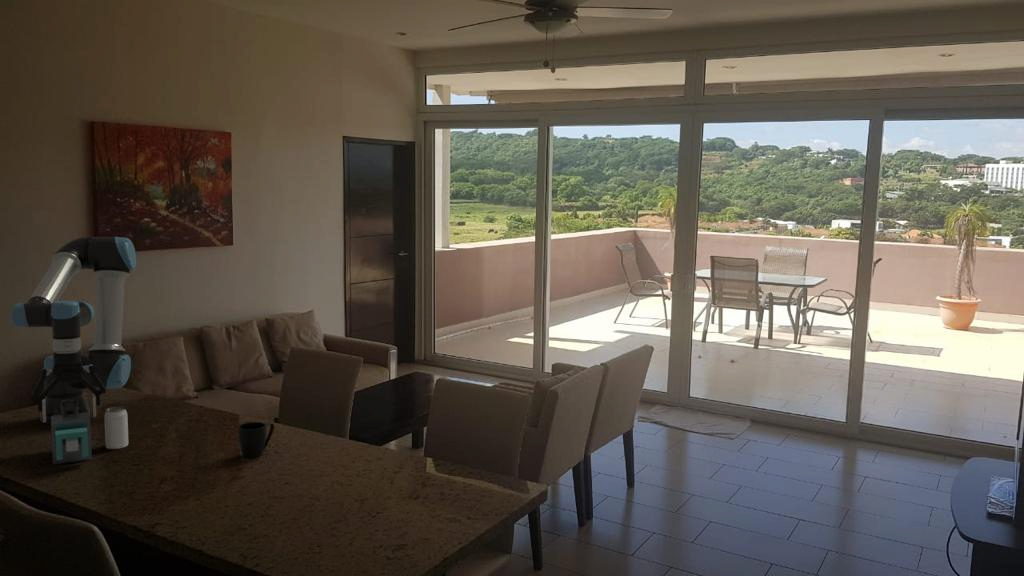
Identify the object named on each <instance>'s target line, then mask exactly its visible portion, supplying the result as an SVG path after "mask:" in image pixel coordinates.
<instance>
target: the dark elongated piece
mask: <svg viewBox="0 0 1024 576" xmlns="http://www.w3.org/2000/svg"><path fill="white" fill-rule="evenodd" d="M61 410H62V415H65V414H74V413H78V401H77V399H65V400H62V401H61ZM77 450H78V437H76V438H67V439H66V452H69V451H77Z"/></svg>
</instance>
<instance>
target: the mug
mask: <svg viewBox="0 0 1024 576" xmlns="http://www.w3.org/2000/svg"><path fill="white" fill-rule="evenodd" d="M269 425H270V427H269V431H268V434H267V427H268V426H269ZM274 428H275V425H274V423H273V422H272V421H271V422H266V423H265V422H260V421H252V422H251V421H250V422H245V423H240V424H239V425H237V437H238V439H237V440H238V445H239V448H240V451H241V453H242V454H241V455H242V458H243V459H249V460H250V459H251V460H254V459H258V458H260V456H261V457H262V456H263V452H264V450H265V449H266V448H267V447H268V444H269V442H270V440H271V438H272V435H273V434H274V433H273V432H274V430H275V429H274Z"/></svg>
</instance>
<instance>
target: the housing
mask: <svg viewBox="0 0 1024 576" xmlns="http://www.w3.org/2000/svg"><path fill="white" fill-rule="evenodd" d="M90 417H91V415H90V416H89V412H84V413H74V414H65V415H55V416H51V424H50V428H51V431H50V432H51V433H50V434H51V448H52V449H51V451H52V454H51V455H52V465H59V464H67V463H73V462H74V463H75V462H82V461H84V462H85V461H90V460H93V459H92V434H91V433H92V430H91V418H90ZM86 427H87V434H88V456H86V457H82V440H81V437H78V450H77V451H69V452H66V439H62V456H63V459H62V460H57V458H56V435H55V431H60V430H69V429H78V428H86Z"/></svg>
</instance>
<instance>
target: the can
mask: <svg viewBox="0 0 1024 576" xmlns="http://www.w3.org/2000/svg"><path fill="white" fill-rule="evenodd" d="M126 409H127V408H126V407H124V406H115V407H114V406H113V407H109V408H106V409H105V413H104V439H105V441H104V443H105V444H104V445H105V446H104V447H105V448H106V449H107V450H120V449H124V448H126V447H127V446H128V445H129V425H128V423H129V421H128V418H129V417H128V412H127V410H126Z"/></svg>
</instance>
